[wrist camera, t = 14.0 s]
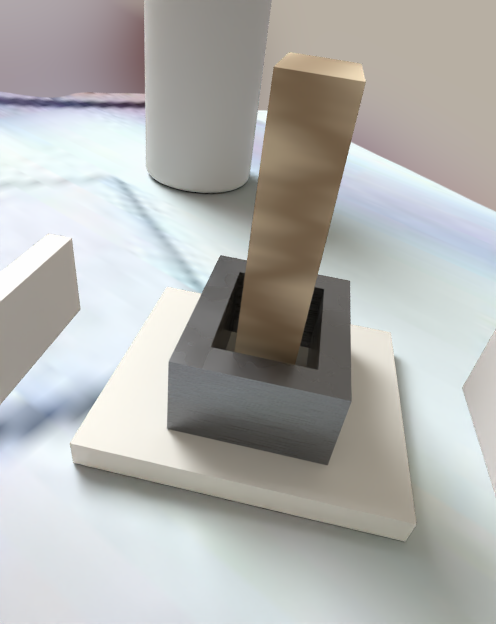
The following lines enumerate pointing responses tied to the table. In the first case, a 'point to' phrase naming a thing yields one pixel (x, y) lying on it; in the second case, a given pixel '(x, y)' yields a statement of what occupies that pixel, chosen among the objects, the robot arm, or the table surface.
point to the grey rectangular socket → (262, 374)
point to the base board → (247, 461)
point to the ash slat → (295, 198)
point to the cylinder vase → (203, 90)
